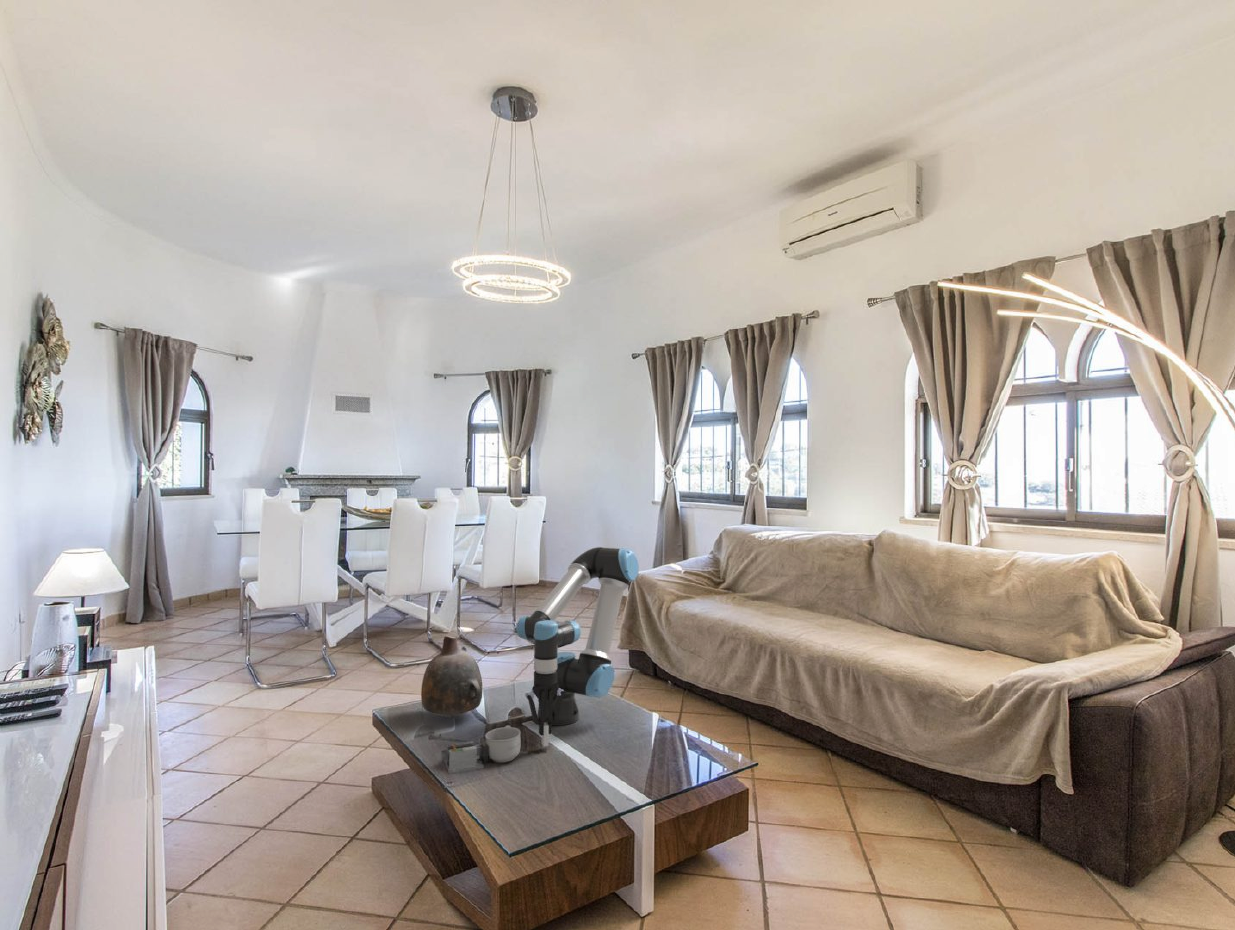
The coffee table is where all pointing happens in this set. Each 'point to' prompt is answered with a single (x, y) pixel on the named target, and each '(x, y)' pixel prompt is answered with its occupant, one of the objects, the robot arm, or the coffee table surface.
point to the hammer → (481, 748)
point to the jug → (451, 682)
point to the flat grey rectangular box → (463, 758)
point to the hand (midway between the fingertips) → (545, 744)
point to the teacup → (503, 743)
